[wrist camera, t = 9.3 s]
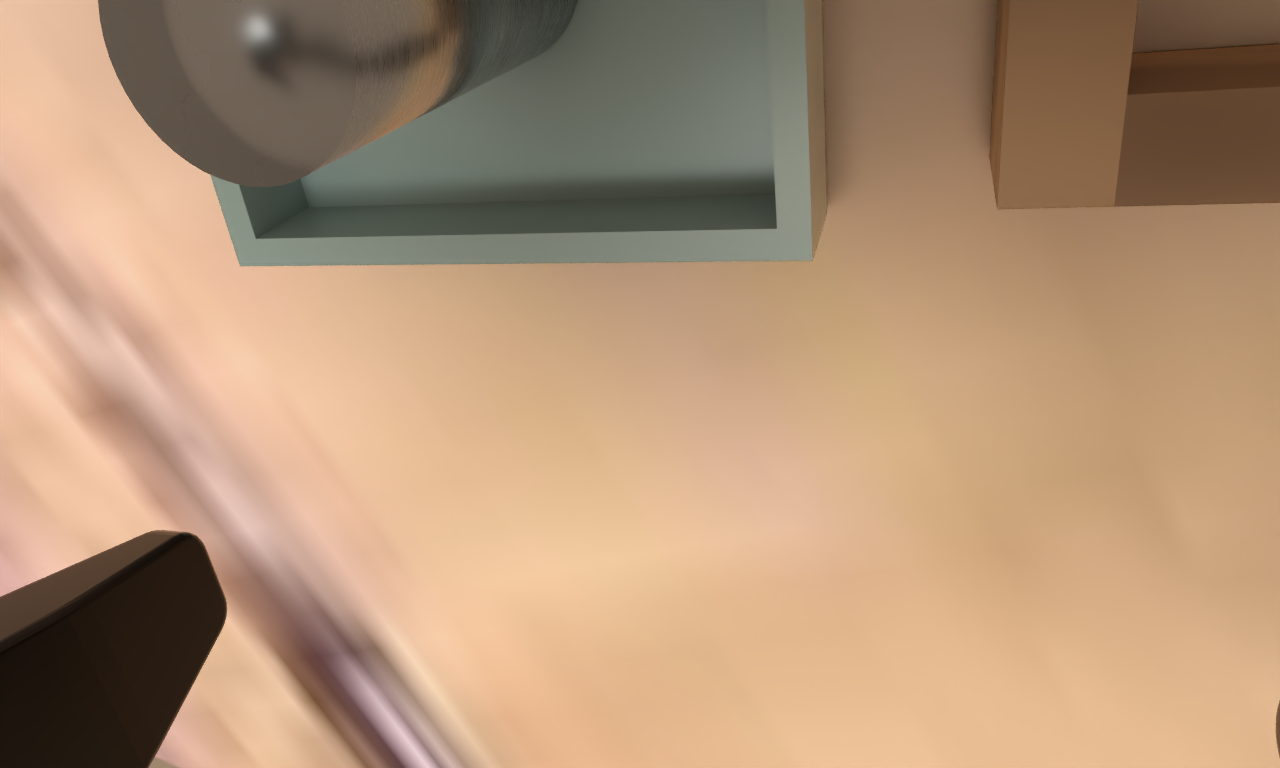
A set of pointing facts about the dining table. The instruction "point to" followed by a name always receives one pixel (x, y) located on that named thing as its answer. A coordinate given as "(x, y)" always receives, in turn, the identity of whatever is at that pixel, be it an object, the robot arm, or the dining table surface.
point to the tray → (585, 154)
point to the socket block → (1126, 113)
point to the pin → (309, 71)
